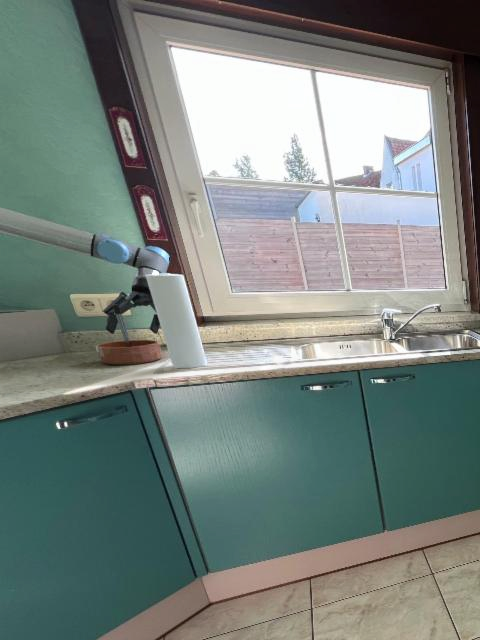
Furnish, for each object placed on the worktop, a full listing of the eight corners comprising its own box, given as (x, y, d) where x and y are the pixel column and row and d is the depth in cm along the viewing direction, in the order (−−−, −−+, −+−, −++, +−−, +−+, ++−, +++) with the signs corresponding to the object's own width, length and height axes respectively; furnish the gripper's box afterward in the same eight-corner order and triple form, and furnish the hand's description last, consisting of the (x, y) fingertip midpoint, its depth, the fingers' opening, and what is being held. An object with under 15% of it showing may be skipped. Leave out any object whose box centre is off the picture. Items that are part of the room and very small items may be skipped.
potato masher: (117, 361, 168) (98, 305, 161) (121, 357, 174) (103, 303, 167) (144, 359, 172) (127, 305, 165) (147, 356, 177) (130, 303, 170)
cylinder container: (208, 361, 175) (184, 272, 164) (206, 366, 168) (181, 274, 157) (174, 363, 170) (147, 272, 159) (171, 369, 163) (142, 274, 152)
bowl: (97, 367, 163) (90, 349, 160) (107, 358, 175) (101, 341, 173) (160, 362, 171) (155, 345, 169) (165, 354, 183) (161, 338, 181)
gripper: (191, 291, 186) (178, 337, 178) (117, 290, 182) (99, 337, 174) (178, 277, 179) (164, 324, 171) (101, 276, 175) (82, 324, 167)
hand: (131, 331), depth 173 cm, fingers open, 13 cm apart
